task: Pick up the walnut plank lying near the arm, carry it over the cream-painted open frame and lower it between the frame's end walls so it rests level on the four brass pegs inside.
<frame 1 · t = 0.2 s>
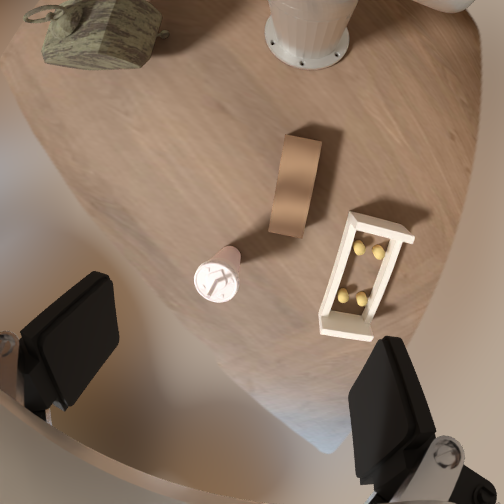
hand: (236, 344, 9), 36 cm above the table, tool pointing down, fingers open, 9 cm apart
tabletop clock: (136, 50, 36), on the table
smoothie: (230, 255, 48), on the table
frame: (359, 271, 45), on the table
plank: (294, 182, 42), on the table
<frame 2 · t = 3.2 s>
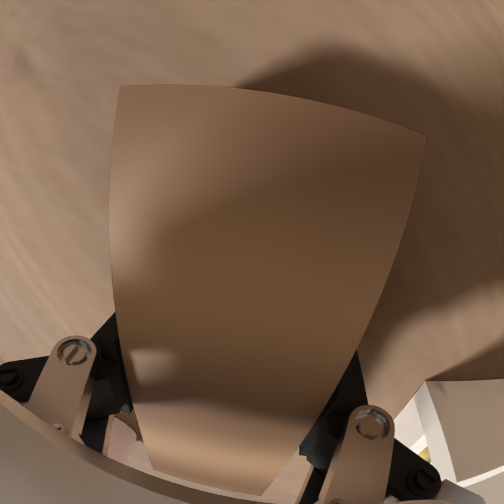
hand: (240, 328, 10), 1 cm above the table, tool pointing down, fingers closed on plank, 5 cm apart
smoothie: (116, 424, 17), on the table
frame: (402, 463, 14), on the table
plank: (244, 315, 10), on the table, touching gripper
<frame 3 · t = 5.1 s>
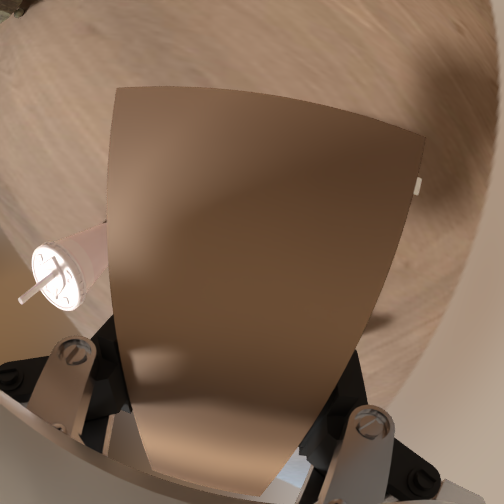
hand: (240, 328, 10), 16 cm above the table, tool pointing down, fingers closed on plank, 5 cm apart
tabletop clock: (27, 3, 16), on the table
smoothie: (111, 237, 28), on the table
plank: (243, 316, 10), point 16 cm above the table, touching gripper
when the fingers open (3 cm above the table, at t = 7.3 s): plank stays where it is, resting on frame.
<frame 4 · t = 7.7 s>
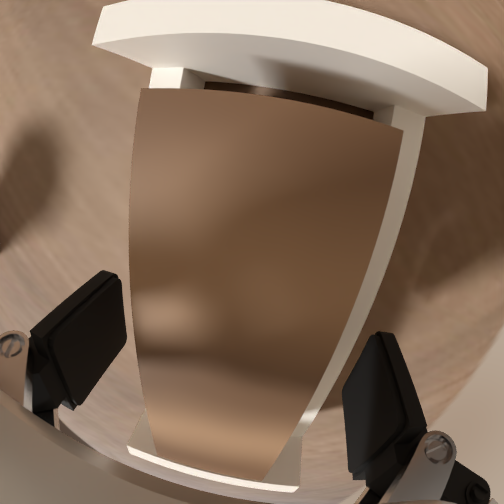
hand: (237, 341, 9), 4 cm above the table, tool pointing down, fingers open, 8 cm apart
frame: (254, 281, 13), on the table
plank: (246, 302, 11), point 2 cm above the table, touching frame
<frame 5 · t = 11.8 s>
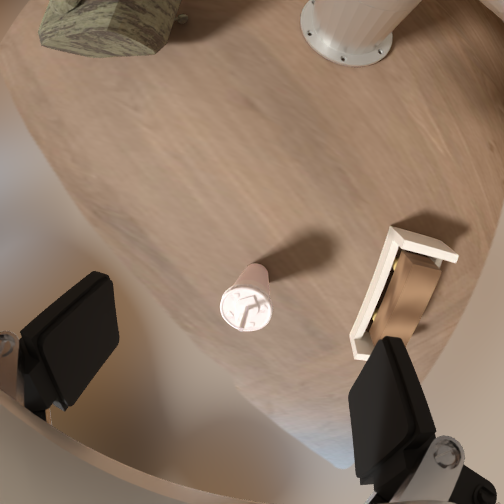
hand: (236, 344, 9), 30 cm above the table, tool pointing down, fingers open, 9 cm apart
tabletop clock: (148, 37, 30), on the table
smoothie: (256, 274, 42), on the table
frame: (395, 290, 40), on the table
plank: (399, 296, 38), point 2 cm above the table, touching frame
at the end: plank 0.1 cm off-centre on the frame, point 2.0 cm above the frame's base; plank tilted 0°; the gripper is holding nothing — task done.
